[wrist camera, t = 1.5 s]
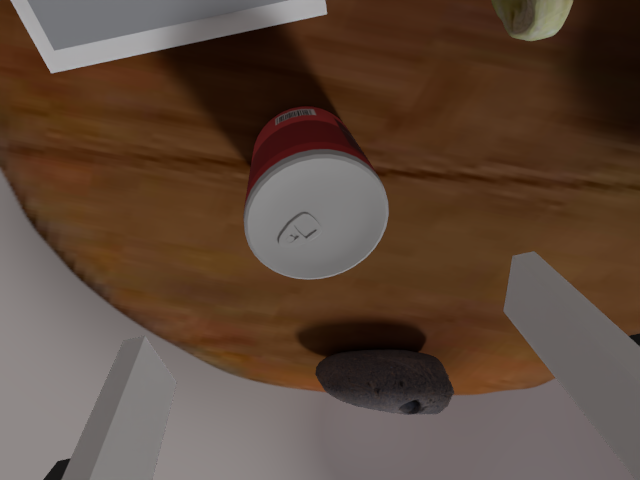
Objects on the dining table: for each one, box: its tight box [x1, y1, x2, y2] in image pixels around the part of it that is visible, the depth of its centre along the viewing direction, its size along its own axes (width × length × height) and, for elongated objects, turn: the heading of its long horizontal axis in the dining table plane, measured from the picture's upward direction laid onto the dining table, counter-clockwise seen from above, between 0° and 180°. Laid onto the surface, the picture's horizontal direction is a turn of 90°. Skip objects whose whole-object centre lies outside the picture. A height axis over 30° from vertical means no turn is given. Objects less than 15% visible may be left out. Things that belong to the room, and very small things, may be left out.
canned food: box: [244, 107, 389, 279], centre depth 23 cm, size 8×8×11 cm
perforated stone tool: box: [316, 349, 454, 415], centre depth 39 cm, size 15×5×7 cm, turn 78°
